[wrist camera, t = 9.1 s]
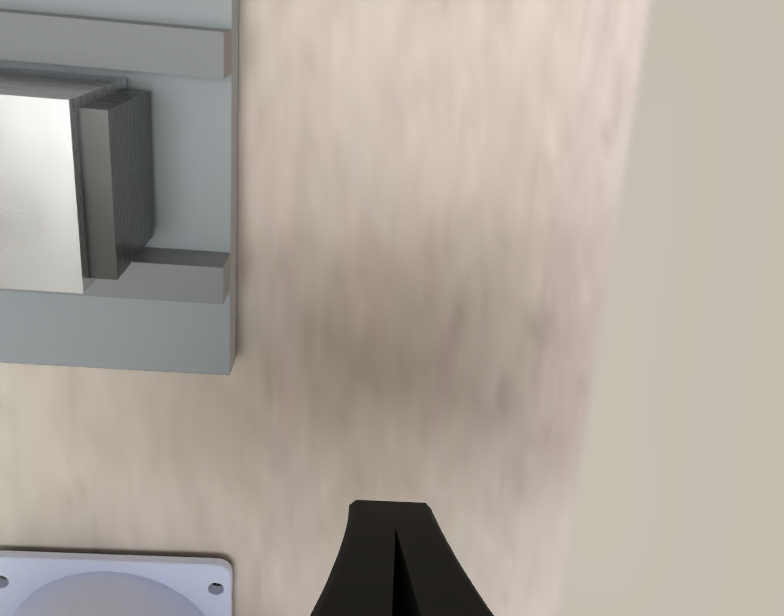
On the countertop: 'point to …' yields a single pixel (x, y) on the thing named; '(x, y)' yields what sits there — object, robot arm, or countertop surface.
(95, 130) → the grey rail carriage
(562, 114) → the countertop surface
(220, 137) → the gauge board
